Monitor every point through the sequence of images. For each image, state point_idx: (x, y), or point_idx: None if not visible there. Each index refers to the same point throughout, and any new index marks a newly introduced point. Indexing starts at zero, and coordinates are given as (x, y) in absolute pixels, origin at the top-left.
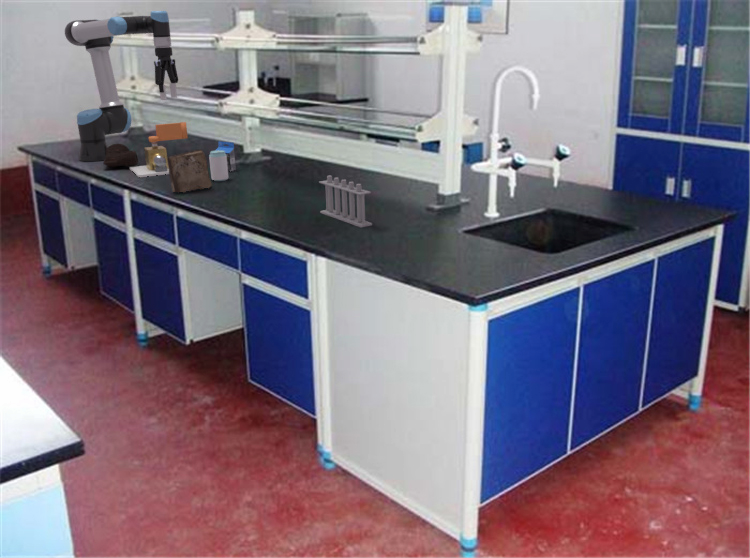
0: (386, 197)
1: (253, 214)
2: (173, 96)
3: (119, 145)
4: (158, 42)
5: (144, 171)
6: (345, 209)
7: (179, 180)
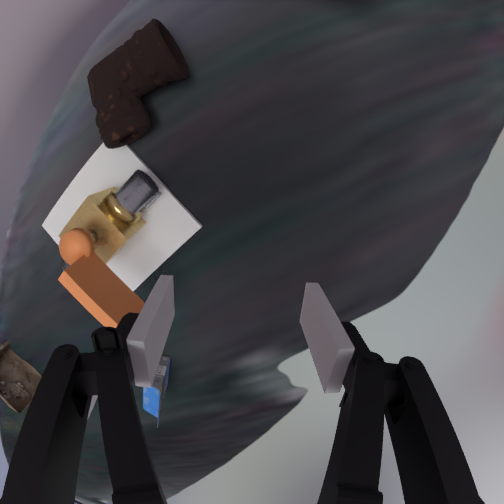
0: (110, 491)
1: (13, 424)
2: (304, 306)
3: (154, 52)
4: None
5: (74, 212)
6: None
7: (2, 362)
